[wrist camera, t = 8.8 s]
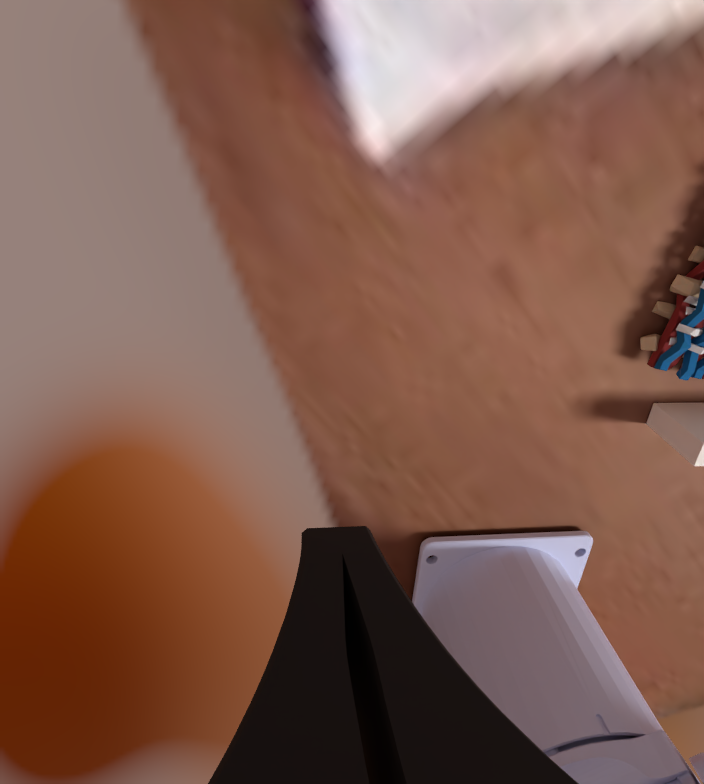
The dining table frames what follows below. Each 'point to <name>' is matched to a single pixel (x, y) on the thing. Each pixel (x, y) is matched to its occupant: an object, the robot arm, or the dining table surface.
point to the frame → (680, 428)
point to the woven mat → (681, 325)
